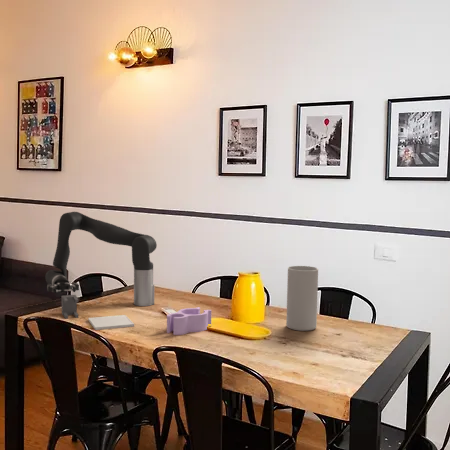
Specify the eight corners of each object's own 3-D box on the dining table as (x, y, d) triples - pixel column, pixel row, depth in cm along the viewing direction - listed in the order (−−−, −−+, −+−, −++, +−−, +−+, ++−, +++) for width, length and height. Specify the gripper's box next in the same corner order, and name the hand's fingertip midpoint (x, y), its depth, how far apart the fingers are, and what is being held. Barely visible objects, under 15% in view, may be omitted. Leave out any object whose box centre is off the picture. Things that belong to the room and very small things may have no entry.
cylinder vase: (292, 321, 246) (293, 264, 244) (320, 325, 240) (321, 267, 238) (282, 328, 235) (283, 269, 232) (311, 332, 229) (313, 271, 227)
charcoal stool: (75, 312, 256) (75, 294, 256) (78, 317, 247) (78, 299, 246) (61, 313, 254) (61, 295, 253) (64, 318, 245) (64, 300, 244)
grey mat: (125, 317, 249) (125, 314, 249) (134, 326, 235) (134, 323, 235) (88, 320, 243) (88, 317, 243) (95, 329, 228) (95, 327, 228)
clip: (181, 337, 221) (181, 319, 220) (159, 331, 229) (160, 314, 228) (215, 327, 236) (216, 311, 235) (194, 321, 244) (194, 306, 243)
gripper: (45, 276, 274) (49, 283, 259) (75, 275, 280) (80, 281, 265) (45, 291, 275) (49, 299, 260) (75, 290, 280) (80, 297, 266)
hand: (65, 290), depth 262 cm, fingers open, 8 cm apart
